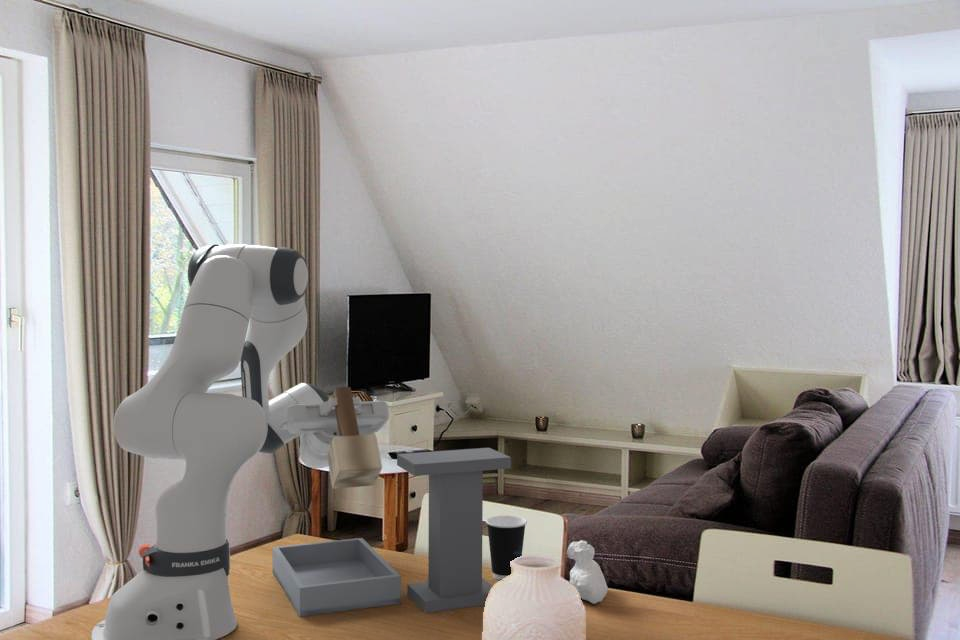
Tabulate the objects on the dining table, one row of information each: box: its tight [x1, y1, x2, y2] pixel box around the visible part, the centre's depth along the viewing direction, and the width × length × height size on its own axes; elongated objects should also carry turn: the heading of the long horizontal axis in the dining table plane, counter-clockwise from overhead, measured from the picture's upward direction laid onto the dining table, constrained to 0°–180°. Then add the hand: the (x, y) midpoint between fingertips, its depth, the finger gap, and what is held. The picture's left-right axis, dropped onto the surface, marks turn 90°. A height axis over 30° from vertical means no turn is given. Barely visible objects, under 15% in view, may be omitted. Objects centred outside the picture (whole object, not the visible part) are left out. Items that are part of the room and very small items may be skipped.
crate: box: [272, 537, 402, 618], centre depth 176 cm, size 18×26×5 cm
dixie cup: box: [485, 515, 528, 581], centre depth 183 cm, size 8×8×11 cm
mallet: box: [327, 386, 383, 490], centre depth 179 cm, size 8×19×7 cm
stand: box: [396, 447, 512, 614], centre depth 170 cm, size 18×10×26 cm, turn 112°
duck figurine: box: [566, 539, 609, 605], centre depth 172 cm, size 12×8×11 cm
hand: (345, 400), depth 182 cm, fingers closed on mallet, 3 cm apart
